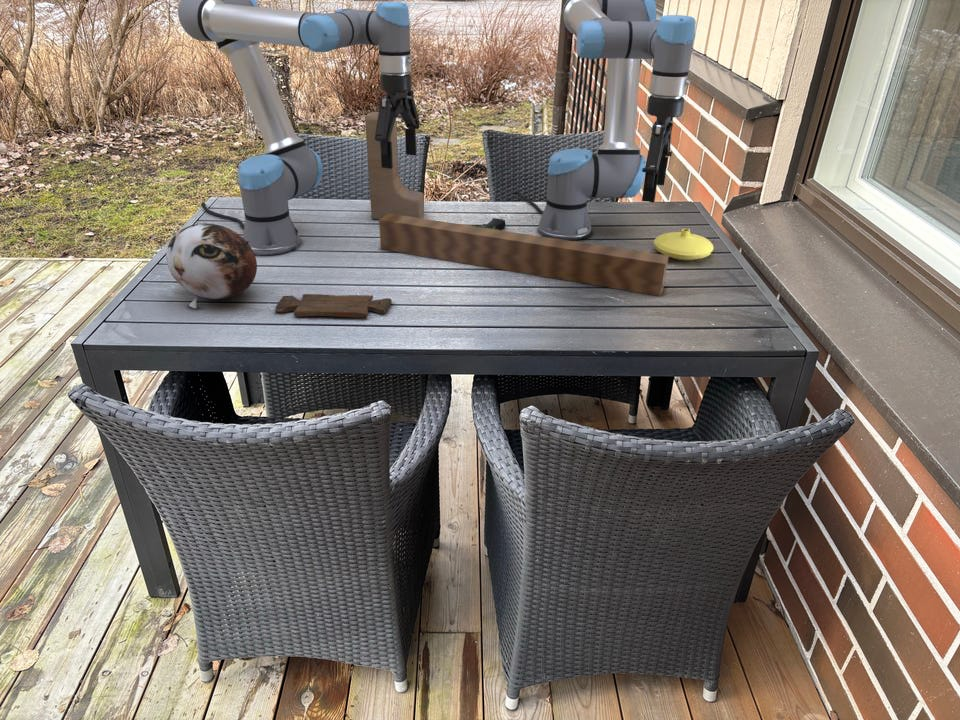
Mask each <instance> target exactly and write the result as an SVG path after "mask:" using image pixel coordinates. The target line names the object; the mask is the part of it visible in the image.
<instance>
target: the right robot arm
mask: <svg viewBox="0 0 960 720" xmlns="http://www.w3.org/2000/svg"><path fill="white" fill-rule="evenodd" d="M561 13H562V14H561V15H562V16H561V18H562V22H563V25H564V27H565V29H567V30H568V32H569V33H571V34H573V35H575V36H576V53H577V55H578V57H580V58H581V59H591V60H596V59H597V60H598V59H607V73H606V74H607V75H606V79H607V80H606V92H605V93H606V96H605V114H604V130H603V131H604V132H603V142H602V143H601V145H600V146H599V147H597V154H595V155H594V154H593V153H592V151H591V150H590V149H589V148H588V149H587V148H580V147H572V148H566V149H561V150H559V151H556V152H554V153H553V154H552V155H551V156H550V158H549V162H548V169H547V189H546V200H545V201H546V203H545V206H544V209H543V210H542V209H541V207H539V206H538V205H537V204H536V202H534V201H532V200H530V199H529V198H527V197H526V196H524V195H523V194H522V193H521V191H519V190H515V191H514V193H513V194H514V195H518V196H519V197H520V198H521V200H523V201H525V202H526V203H528V204H530V205H531V206H532V207H533V208H534V209H536V211H537V212H538V213H539V214H541V217H540V220H539V224H538V231H537V232H538V233H539V234H540V236H542V237H549V238H555V239H562V240H568V241H575V242H577V241H581V240H585V239H587V238H589V237H590V236H591V234H592V233H591V232H592V224H591V220H590V215H589V211H588V200H589V199H619V200H620V199H621V200H622V199H627V198H628V199H629V198H634V197H636V196H637V195H639V193H640V191H641V189H643V190H642V195H641V202H646V203H655V201H656V193H657V188H658V186H665V181H666V175H667V168H668V161H669V157H672V156H673V151H671V145H672V143H671V142H672V134H673V133H672V132H673V127H674V123H673V121H674V118H679V117H681V116H682V115H683V111H684V105H685V98H684V96H685V95H686V90H687V86H689V85H691V81H690V79H689V80H687V79H688V77H689V76H688V75H689V71H690V66H691V59H692V53H693V47H694V41H695V38H696V24H697V23H696V19H695V18H694V17H693V16H690V15H681V14H667V15H666V14H665V15H663V16H661V17H660V18H659V19H657V4H656V0H566V1H565V3H564V5H563V9H562V11H561ZM641 60H653V62H652V69H651V70H652V72H651V76H650V84H649V94H650V95H649V96H648V100H647V108H646V112H647V114H648V115H649V116H652V117H656V120H655V121H654V123H652V125H651V135H650V142H649V146H648V152H647V156H646V157H645V156H644V155H643V154H641V148H640V147H639V145H638V144H637V143H636V137H637V136H636V133H637V119H638V118H637V117H638V105H639V104H638V103H639V89H640V72H641V71H640V70H641ZM642 187H643V188H642Z"/></svg>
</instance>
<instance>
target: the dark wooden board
mask: <svg viewBox="0 0 960 720" xmlns="http://www.w3.org/2000/svg"><path fill="white" fill-rule="evenodd" d="M373 298H374V295H372V294H371V295H369V294H349V295H348V294H347V295H346V294H345V295H344V294H343V295H336V294H320V293H318V294H317V293H316V294H315V293H313V294H312V293H303V294H302V297H301V300H300V299H298V298H297V297H296V296H294V295H282V298H281V299H280V300H279V301H278V303H277V304H276V306H275V313H288V312H293V316H294V317H315V316H316V317H342V318H345V317H346V318H367V315H368V313H369V312H374V313H378V314H386V313H387V311H388V309H389V308H390V306H391V304H392V298H389V297H386V298H381V299H375V300H373Z"/></svg>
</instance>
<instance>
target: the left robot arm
mask: <svg viewBox="0 0 960 720" xmlns="http://www.w3.org/2000/svg"><path fill="white" fill-rule="evenodd" d="M177 8H178V9H177V18H178V21H179V23H180V26H181V27H182V29H183V30H184V32H185V33H186V34H187V35H189V37H190V38H192V39H194V40H196V41H199V42H214V43H215V44H216V47H217V49H218V51H219V52H220V53H222V54H224V55H225V56H227V57H228V60H229V62H230V64H231V67H232V70H233V71H234V74H235V77H236V78H237V80H238V83H239V86H240V88H241V90H242V93H243V95H244V97H245V99H246V102H247V104H248V106H249V109H250V111H251V114H252V115H253V118H254V121H255V123H256V125H257V127H258V130H259V133H260V134H261V137H262V139H263V142H264V144H265V149H264V151H263V154H259V155H257V156H256V155H254V156H251V157H248V158H246V159H244V160H243V161H241V162H240V164H239V165H238V168H237V174H238V179H237V182H238V185H239V190H240V197H241V202H242V203H241V204H242V208H243V212H244V213H243V215H244V219H245V220H244V223H243V221H242V220H241V219H240V218H237V217H236V216H231V215H226V214H222V213H218V212H217V211H212V210H211V209H209V208H207V206H206V203H205V202H201V207H202V208H203V210H204V211H205V212H206V213H208V214H210V215H213V216H215V217H218V218H222V219H227V220H231V221H235V222H237V223H238V224H239V226H240V227H241V228H242V229H243V235H242V237H243V238H244V239H245V240H246V241H249V242H248V244H249V245H250V247H251V248H252V250H253V252H254V254H255V256H256V255H257V256H275V255H281V254H282V255H283V254H285V253H289V252H291V251H293V250H296V249H297V248H298V247H299V246H300V244H301V241H300V235H299V231H298V229H297V228H296V227H295V225H294V223H293V220H292V218H291V216H290V207H289V201H291V200H293V199H295V198H298V197H299V196H301V195H304V194H307V193H309V192H311V191H312V190H313V189H315V188H316V187H318V185H319V184H320V183H321V181H322V178H323V173H324V167H323V162H322V159H321V157H320V156H319V154H318V153H317V151H314V150H313V149H312V148H311V147H308V146H307V144H306V142H305V140H304V139H303V138H302V137H300V136H297V134H296V132H295V129H294V128H293V124H292V123H291V120H290V118H289V115H288V112H287V111H286V110H287V109H286V108H285V105H284V103H283V100H282V98H281V96H280V93H279V91H278V88H277V86H276V84H275V81H274V78H273V76H272V74H271V71H270V69H269V67H268V64H267V61H266V59H265V56H264V54H263V52H262V49H261V47H260V44H261V43H263V44H271V45H280V46H281V45H282V46H290V47H299V48H300V47H301V48H307V49H308V50H310V51H311V52H313V53H328V52H331V51H334V50H338V49H343V48H347V47H353V46H356V45H357V46H358V45H368V46H377V47H378V57H379V58H378V59H379V72H380V73H381V74H380V88H381V91H383V92H385V94H386V95H385V97H383V98H382V97H380V98H379V99H378V100H379V101H378V104H379V105H378V106H379V107H378V112H379V114H378V120H377V126H376V133H375V140H376V141H380V146H381V164H382V168H389V169H392V168H393V163H392V142H391V141H389V140H390V137H391V133H392V130H393V126H394V123H395V119H396V120H397V118H398V117H399V115H400V116H401V119H402V121H403V123H404V125H405V127H406V128H405V129H404V141H405V155H407V156H408V155H409V156H417V131H416V130H419V129H420V127H421V126H420V124H421V122H420V121H421V120H420V118H419V114H418V110H417V106H416V102H415V98H414V97H415V96H414V90H412V88H413V85H412V84H413V83H412V81H413V80H412V75H411V72H412V63H413V60H412V59H411V21H410V9H409V6H408V4H407V3H406V2H403V1H379V2H378V3H376V7H375V8H376V9H375V10H367V9H354V8H350V7H348V8H337V9H335V11H334V12H328V13H327V12H325V13H323V12H312V11H311V12H310V11H301V10H291V9H283V8H282V9H280V8H272V7H261V6H259V3H258V1H257V0H180V1H179V3H178V7H177ZM205 206H206V207H205Z"/></svg>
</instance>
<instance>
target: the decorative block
mask: <svg viewBox="0 0 960 720" xmlns="http://www.w3.org/2000/svg"><path fill="white" fill-rule="evenodd" d="M378 114H379V111H371V112H369V113H368V114H367V115H366V116H365V117H364V124H365V125H364V126H365V139H366V156H367V170H368V172H367V173H368V184H369V201H370V216H371V219H374V220H380V219H381V218H383V217H384V216H386V215H387V214H396V215H402V216H409V217H416V218H422V217H423V216H424V214H425V194H424V193H423V192H421V191H417V190H412V189H409V188H408V187H406V186H405V185H404V184H403V182H402V179H401V177H400V173H399V172H400V171H399V151H398V150H399V149H398V147H399V146H398V129H397V118H396V119H395V123H394V126H393V130H392V133H391V137H390V140H389V141H391V142H392V163H393V168H392V169H389V168H382V164H381V146H380V141H376V140H375V133H376V126H377V120H378ZM422 219H423V218H422Z"/></svg>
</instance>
